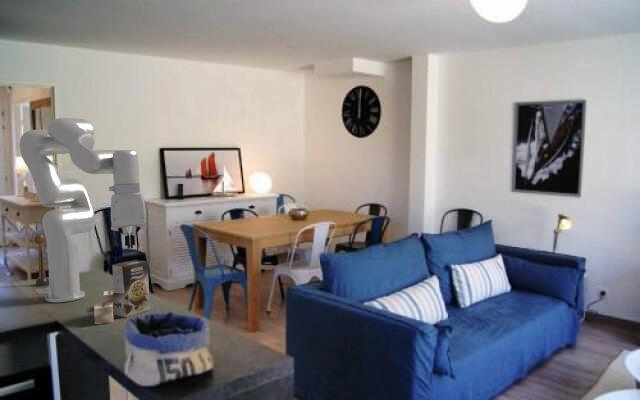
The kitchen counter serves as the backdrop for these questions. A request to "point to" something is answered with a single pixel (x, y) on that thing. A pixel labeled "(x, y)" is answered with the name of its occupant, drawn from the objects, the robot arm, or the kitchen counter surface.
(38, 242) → the wooden tabletop sculpture
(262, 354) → the kitchen counter surface
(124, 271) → the coffee box
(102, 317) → the marked block front
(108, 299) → the marked block back
